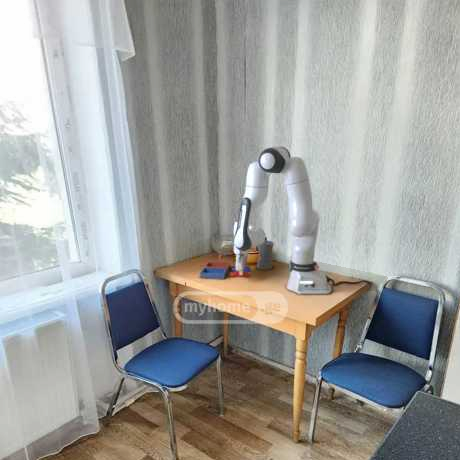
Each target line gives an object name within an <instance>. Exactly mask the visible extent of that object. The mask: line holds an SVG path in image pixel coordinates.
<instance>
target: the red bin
mask: <svg viewBox="0 0 460 460" xmlns="http://www.w3.org/2000/svg"><path fill="white" fill-rule="evenodd" d="M204 268H222V269H227V273H228V272H229V270H230V269H231V262H224V261H207V263H206V264H205V266H204Z"/></svg>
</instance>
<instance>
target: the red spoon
mask: <svg viewBox="0 0 460 460" xmlns="http://www.w3.org/2000/svg"><path fill="white" fill-rule="evenodd" d="M228 277H231V278H234V277H243V278H248V277H249V272H248V271H243V275H239V271H234V272H229V273H228Z"/></svg>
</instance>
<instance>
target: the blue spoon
mask: <svg viewBox="0 0 460 460" xmlns="http://www.w3.org/2000/svg"><path fill="white" fill-rule="evenodd" d="M231 271H232V272H235V271H236V267H232V268H231ZM244 271H247V272H248V273H249V272H251V266H249V265H245V266H244Z"/></svg>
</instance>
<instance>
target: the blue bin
mask: <svg viewBox="0 0 460 460" xmlns="http://www.w3.org/2000/svg"><path fill="white" fill-rule="evenodd" d="M227 274H228V272H227V269H222V268H205V267H203V269H202V270H201V271H200V273H199V276H200V279H212V280H213V279H215V280H225V278H226V277H227Z"/></svg>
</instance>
